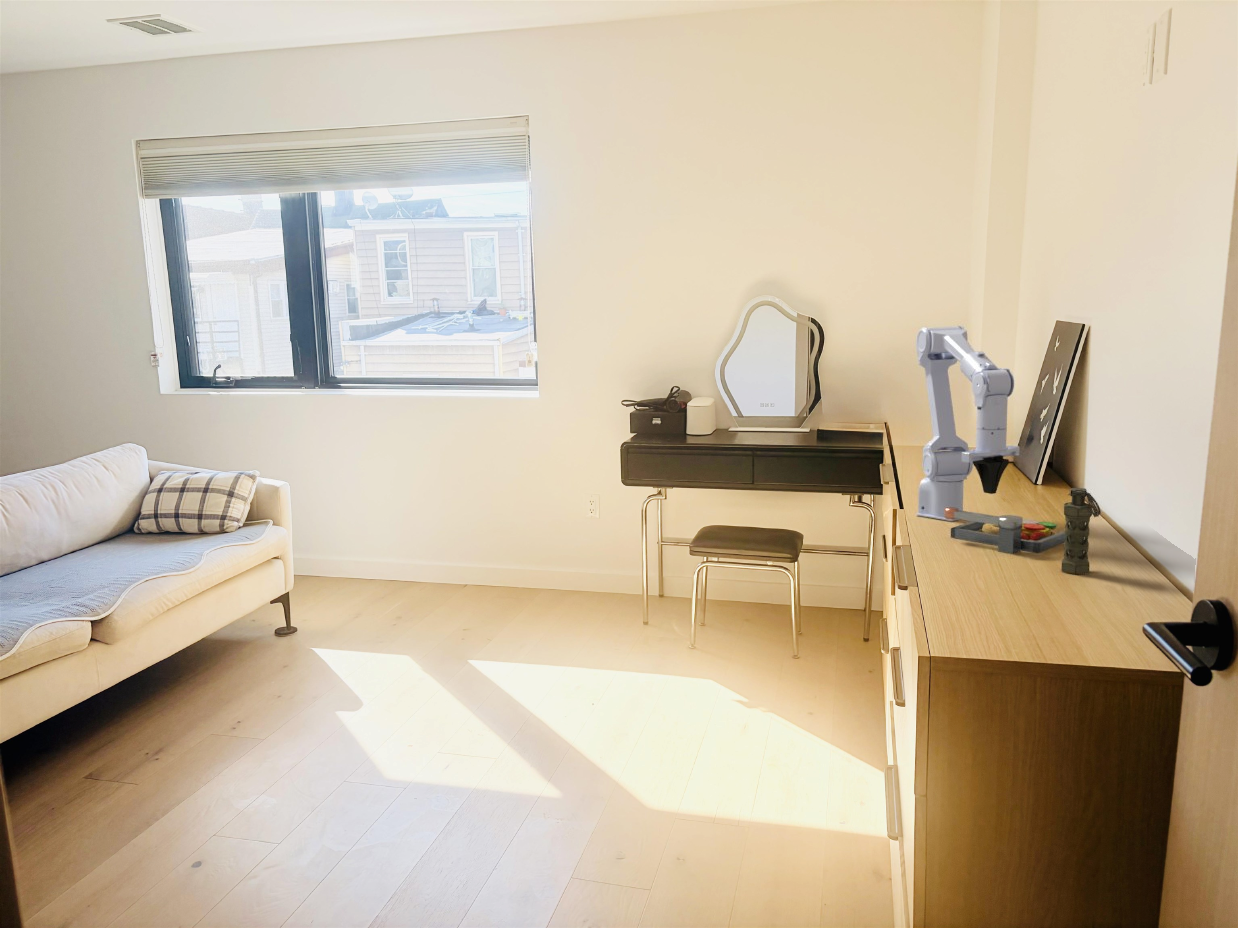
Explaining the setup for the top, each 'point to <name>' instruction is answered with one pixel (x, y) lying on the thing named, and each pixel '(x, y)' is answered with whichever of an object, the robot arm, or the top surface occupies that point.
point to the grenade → (1078, 531)
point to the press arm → (985, 518)
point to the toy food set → (1027, 529)
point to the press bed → (1005, 538)
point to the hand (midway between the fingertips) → (989, 492)
